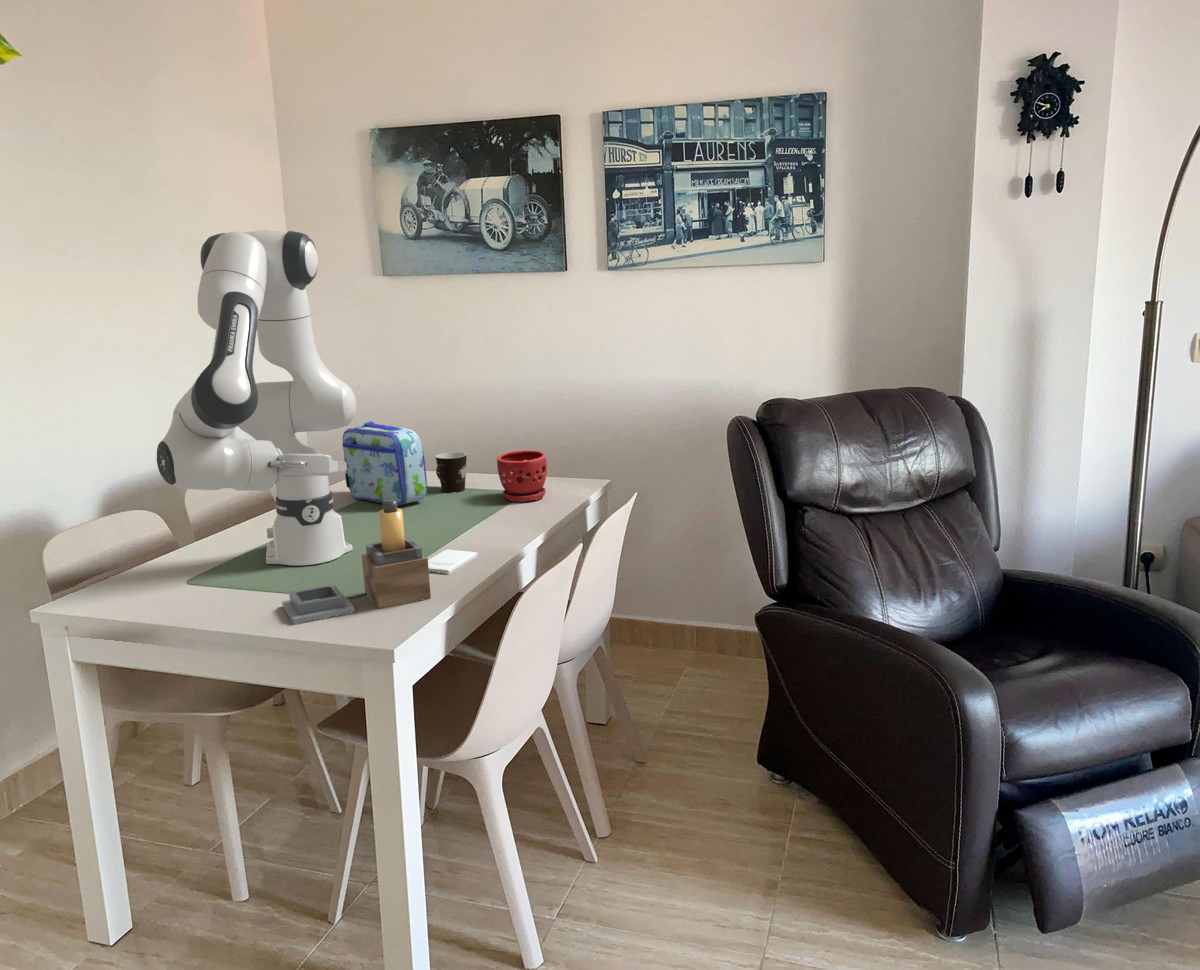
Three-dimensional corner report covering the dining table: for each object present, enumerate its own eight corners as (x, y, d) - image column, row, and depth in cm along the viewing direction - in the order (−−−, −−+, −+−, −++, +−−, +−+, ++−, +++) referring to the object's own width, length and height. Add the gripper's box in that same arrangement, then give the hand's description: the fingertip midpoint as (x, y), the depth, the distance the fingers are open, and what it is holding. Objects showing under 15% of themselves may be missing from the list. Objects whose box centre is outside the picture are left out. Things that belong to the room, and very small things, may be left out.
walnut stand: (365, 593, 189) (360, 544, 187) (414, 583, 194) (410, 536, 191) (379, 608, 181) (374, 557, 178) (430, 598, 185) (426, 548, 183)
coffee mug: (457, 485, 278) (455, 450, 275) (474, 489, 271) (472, 454, 269) (422, 492, 270) (420, 457, 268) (440, 497, 264) (437, 461, 262)
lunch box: (341, 497, 267) (334, 423, 262) (373, 490, 275) (367, 417, 270) (399, 511, 250) (392, 432, 245) (432, 503, 258) (426, 425, 253)
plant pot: (502, 493, 267) (500, 450, 264) (550, 492, 266) (548, 449, 263) (496, 505, 254) (493, 460, 251) (545, 504, 253) (543, 459, 250)
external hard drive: (478, 559, 210) (449, 577, 199) (445, 556, 213) (415, 573, 202) (477, 552, 210) (449, 569, 199) (444, 549, 213) (414, 566, 202)
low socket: (282, 606, 183) (280, 591, 183) (340, 595, 188) (338, 580, 188) (294, 624, 174) (292, 608, 173) (354, 612, 179) (353, 597, 178)
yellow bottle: (379, 555, 186) (375, 500, 184) (402, 551, 188) (397, 496, 186) (386, 561, 182) (381, 505, 180) (408, 557, 184) (404, 501, 182)
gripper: (282, 444, 160) (359, 447, 169) (237, 449, 176) (310, 452, 185) (282, 482, 160) (359, 483, 169) (237, 484, 176) (309, 485, 185)
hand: (333, 467), depth 177 cm, fingers open, 8 cm apart
